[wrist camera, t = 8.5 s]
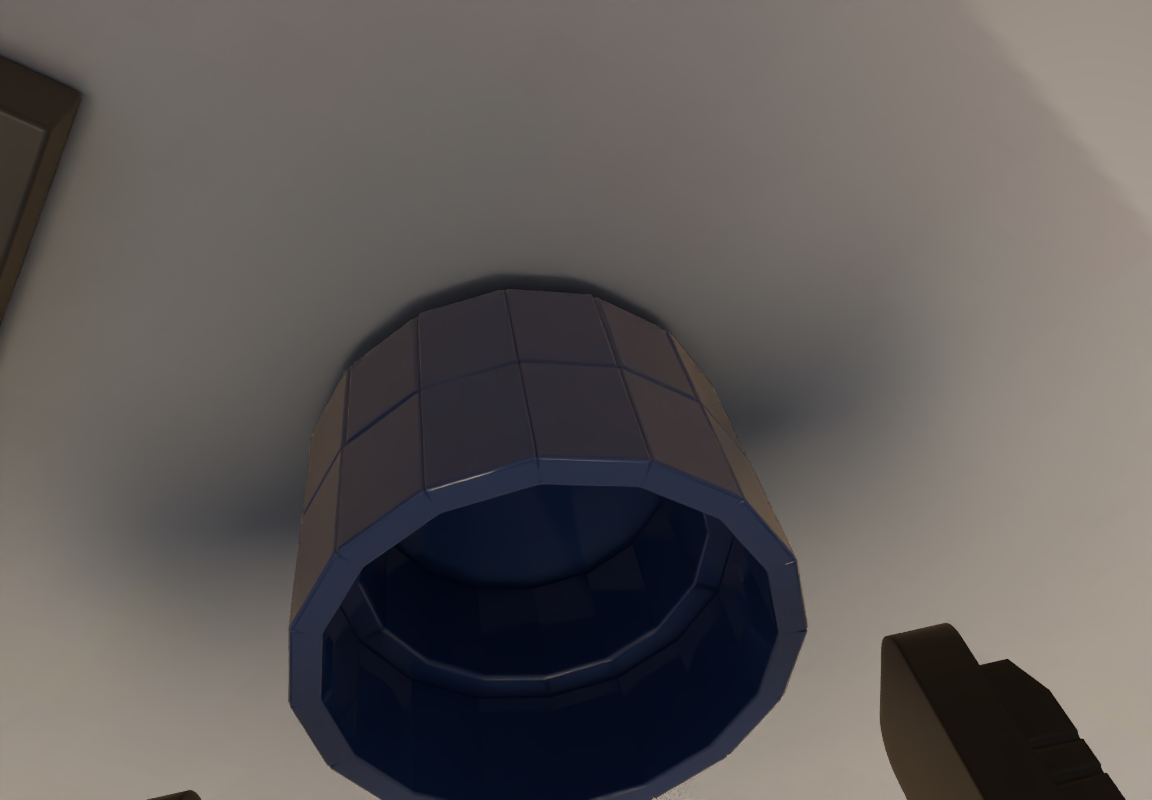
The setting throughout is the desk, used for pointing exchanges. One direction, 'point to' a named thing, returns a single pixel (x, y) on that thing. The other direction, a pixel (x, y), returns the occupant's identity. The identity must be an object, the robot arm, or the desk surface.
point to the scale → (27, 158)
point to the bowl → (534, 562)
